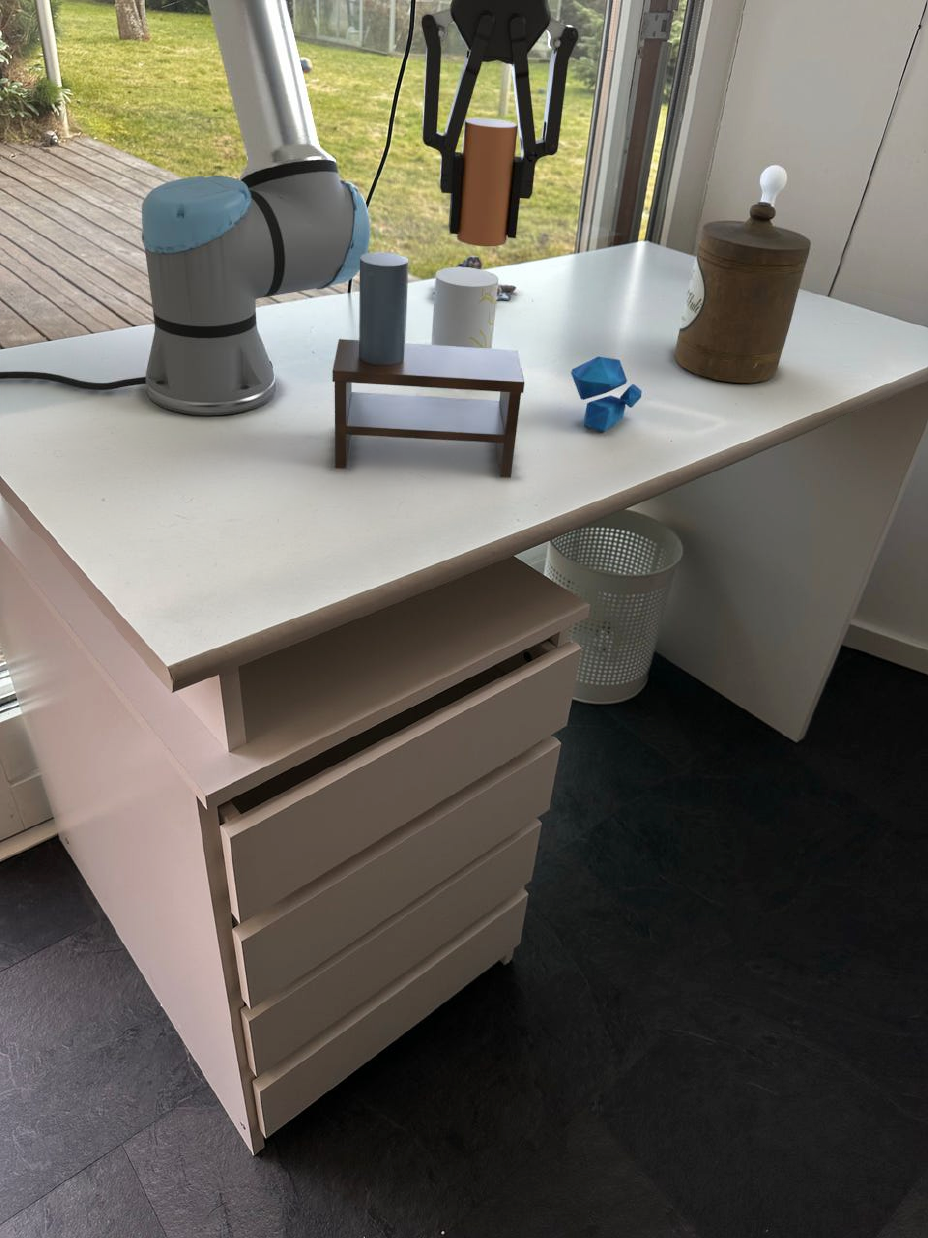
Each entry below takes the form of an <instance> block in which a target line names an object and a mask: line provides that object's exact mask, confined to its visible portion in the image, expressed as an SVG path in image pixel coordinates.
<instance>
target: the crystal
mask: <svg viewBox="0 0 928 1238" xmlns="http://www.w3.org/2000/svg"><path fill="white" fill-rule="evenodd" d="M570 375H571V377H572V379H573V382H574V385H575V387H576V390H577V393H578V395H579V399H580V400H582V401H584V400H588V399H591V398H595V397H598V396H602V395H604V394H605V395H606V394H608V393H610V392H612V391H613V390H615V389H618V388H620V387H622V386H625V385H626V384H627V382H628V380H627V379H628V378H627V376H626V374H625V370H624V368H623V365H622V363H621V360H620V359H617V358H612V357H604V356H596V357H594V358H592V359H590V360H588V361H586V362H584V363H582V364H580V365H578V366H576V367H575V368H573V369H571V371H570ZM641 398H642V390H641V388H639V387H638V386H637V385H636V384H634V383H632V384H631V385H629V386H628V387H627V389H626V390H624V392H623V393H622V394H621V395H620V397H617V396H614V395H607V396H604V397H601V398H597V399H594V400H592V401H589V402H587V403H586V407H585V412H584V416H583V422H582V424H583V426H584V427H585V428H588V429H591V430H594V431H597V432H599V433H605V432H606V431H607V430H609V429H610V428H611V427H613V426H614V425H616V424H617V423H618V422H619V421H621V420H622V419H623V418H624V415H625V410H626V406H627V407H628V408H633V407H634V406H635V405H636V404H637V403H638V401H639V400H640V399H641Z"/></svg>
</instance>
